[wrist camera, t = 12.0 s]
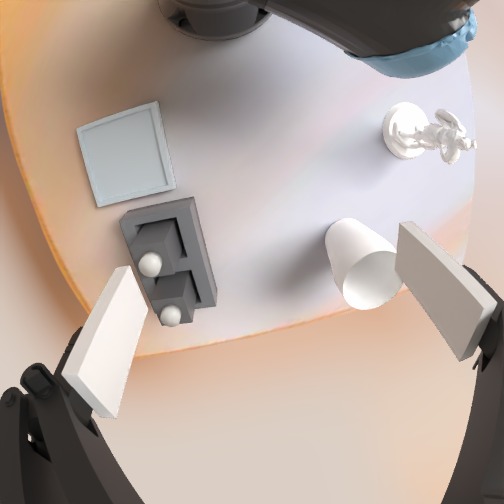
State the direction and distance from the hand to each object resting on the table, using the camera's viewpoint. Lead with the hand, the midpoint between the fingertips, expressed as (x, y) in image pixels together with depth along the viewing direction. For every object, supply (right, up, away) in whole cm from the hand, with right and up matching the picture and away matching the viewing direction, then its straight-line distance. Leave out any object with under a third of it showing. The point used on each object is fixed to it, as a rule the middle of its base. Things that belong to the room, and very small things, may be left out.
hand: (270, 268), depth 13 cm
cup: (+13, +3, +30) cm, 33 cm away
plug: (-12, -3, +31) cm, 33 cm away
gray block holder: (-13, +1, +29) cm, 32 cm away
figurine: (+22, +18, +22) cm, 36 cm away
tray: (-18, +14, +22) cm, 31 cm away
